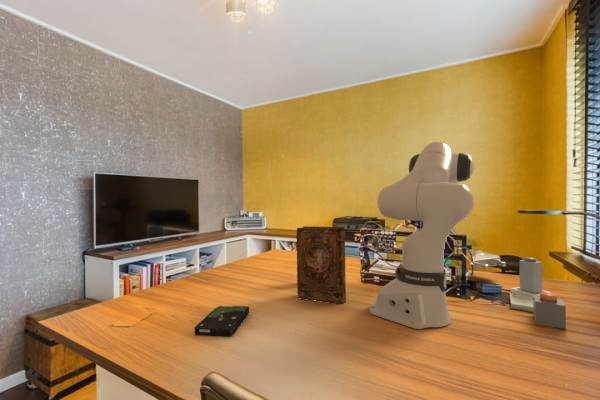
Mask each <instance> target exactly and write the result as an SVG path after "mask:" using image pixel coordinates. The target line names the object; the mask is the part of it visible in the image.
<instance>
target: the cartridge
mask: <svg viewBox="0 0 600 400" xmlns="http://www.w3.org/2000/svg"><path fill="white" fill-rule="evenodd" d="M518 264H519V267H518V268H519V287H520V290H521V291H524V292H528V293H531V294H535V295H536V294H540V292H542V290H543V261H538V260H537V258H535V257H529V256H527V257H524V259H520V260H519V263H518Z"/></svg>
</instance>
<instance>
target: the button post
mask: <svg viewBox="0 0 600 400" xmlns="http://www.w3.org/2000/svg"><path fill="white" fill-rule="evenodd" d="M566 309H567V307H566V304H565V303H564V301H563V300H562V298H558V297H557V301H554V302H547V301H543V299H541V298H540V296H538V295H533V312H532V313H533V315H532V316H533V319H534V322H535V324H537V325H544V326H548V327H553V328H558V329H564V330H567V313H566V312H567V310H566Z"/></svg>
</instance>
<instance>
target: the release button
mask: <svg viewBox="0 0 600 400" xmlns="http://www.w3.org/2000/svg"><path fill="white" fill-rule="evenodd" d="M540 298H541V299H543V301H547V302H554V301H557V298H558V295H557V294H555V293H553V292H552V293H547V292H540Z"/></svg>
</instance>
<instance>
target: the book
mask: <svg viewBox="0 0 600 400" xmlns="http://www.w3.org/2000/svg"><path fill="white" fill-rule="evenodd" d="M296 265H297V266H296V272H297V273H296V279H297V280H296V281H297V282H296V283H297V286H296V287H297V291H296V292H297V297H298V299H299V298H301V299H300V300H303V299H308V300H307V301H309V300H316V301H315V302H317V301H322V302H321V303H325V302H329V303H328V304H332V303H336V304H335V305H340V304H341V305H344V304H346V302H347V290H346V289H347V287H346V286H347V283H346V277H347V276H346V229H345V227H344V226H309V225H306V226H302V227H297V228H296Z"/></svg>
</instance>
